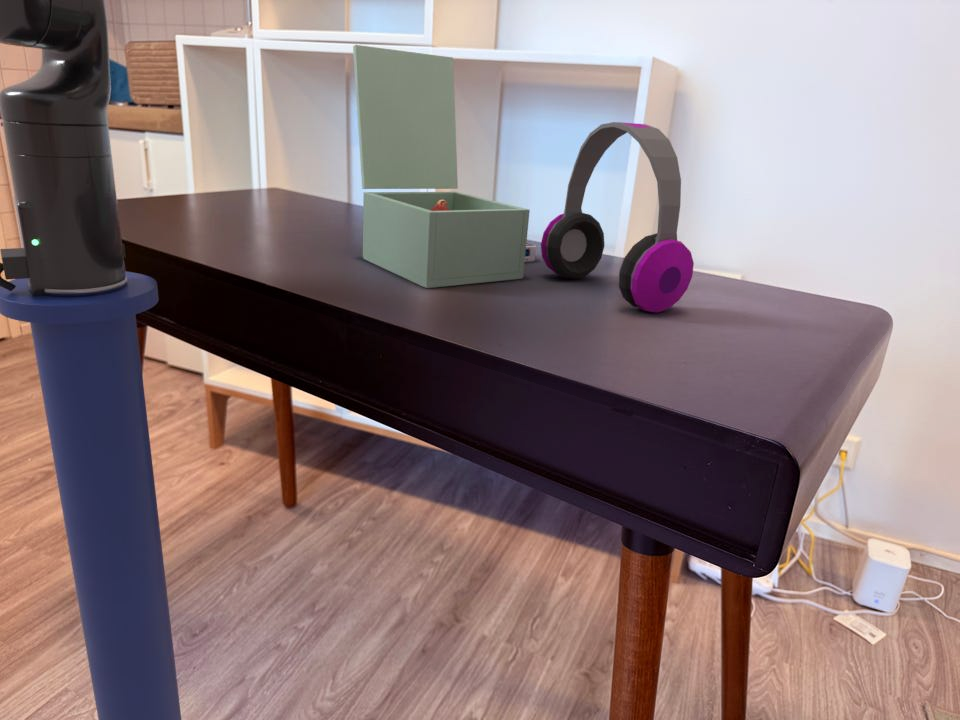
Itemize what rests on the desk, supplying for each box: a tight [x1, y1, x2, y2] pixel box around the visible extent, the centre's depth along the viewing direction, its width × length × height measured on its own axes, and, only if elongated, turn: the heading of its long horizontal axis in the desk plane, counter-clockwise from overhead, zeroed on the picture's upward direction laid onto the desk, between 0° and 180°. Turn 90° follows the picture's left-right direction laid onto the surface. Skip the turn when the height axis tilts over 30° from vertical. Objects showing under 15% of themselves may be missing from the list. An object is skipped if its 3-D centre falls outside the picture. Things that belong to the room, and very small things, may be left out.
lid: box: [352, 44, 459, 190], centre depth 91 cm, size 18×15×4 cm
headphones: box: [540, 121, 695, 313], centre depth 79 cm, size 21×9×20 cm, turn 28°
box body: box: [362, 191, 531, 289], centre depth 87 cm, size 17×15×9 cm
